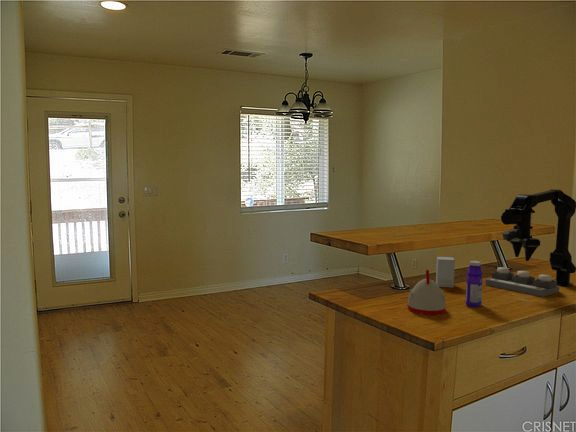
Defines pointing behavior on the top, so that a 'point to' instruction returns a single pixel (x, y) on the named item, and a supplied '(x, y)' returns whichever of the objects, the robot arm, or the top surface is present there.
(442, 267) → the supplement box
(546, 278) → the button end
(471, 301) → the bottle
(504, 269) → the button
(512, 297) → the top surface
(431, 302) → the grey dome
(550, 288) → the button board
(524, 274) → the button mid
